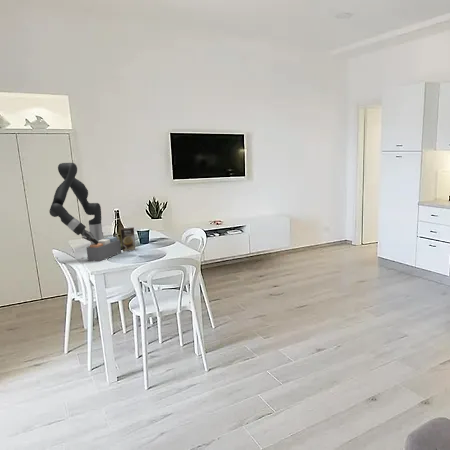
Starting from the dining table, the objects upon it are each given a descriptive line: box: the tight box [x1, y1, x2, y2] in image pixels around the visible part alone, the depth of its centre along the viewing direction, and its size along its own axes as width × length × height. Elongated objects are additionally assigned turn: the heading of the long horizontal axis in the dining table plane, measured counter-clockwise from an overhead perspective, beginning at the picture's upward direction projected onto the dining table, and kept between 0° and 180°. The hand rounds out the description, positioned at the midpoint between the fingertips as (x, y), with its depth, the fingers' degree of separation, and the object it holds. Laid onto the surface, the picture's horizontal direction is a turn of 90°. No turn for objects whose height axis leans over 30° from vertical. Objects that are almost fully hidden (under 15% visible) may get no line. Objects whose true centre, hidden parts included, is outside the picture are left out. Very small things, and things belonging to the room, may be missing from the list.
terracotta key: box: [89, 243, 103, 248], centre depth 258 cm, size 6×6×3 cm
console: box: [86, 239, 122, 262], centre depth 266 cm, size 25×9×9 cm, turn 161°
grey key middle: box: [98, 238, 110, 245], centre depth 265 cm, size 6×6×3 cm
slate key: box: [104, 236, 118, 242], centre depth 273 cm, size 6×6×3 cm
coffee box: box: [120, 227, 137, 252], centre depth 281 cm, size 9×6×16 cm
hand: (97, 243), depth 258 cm, fingers closed
